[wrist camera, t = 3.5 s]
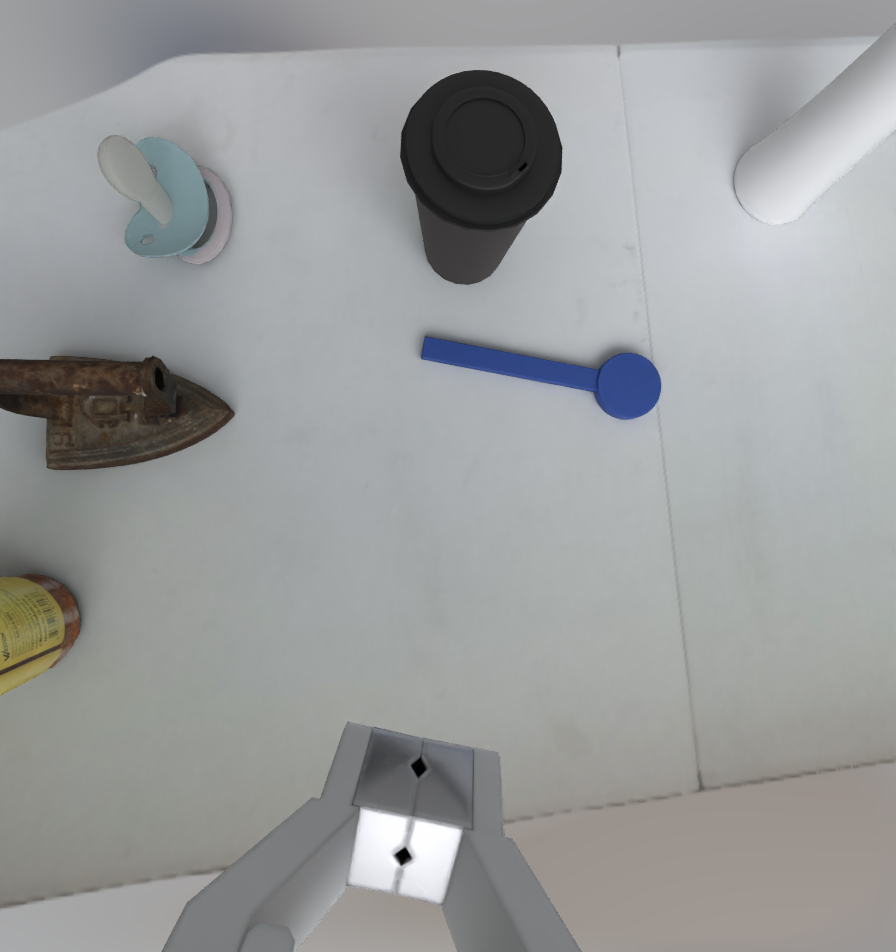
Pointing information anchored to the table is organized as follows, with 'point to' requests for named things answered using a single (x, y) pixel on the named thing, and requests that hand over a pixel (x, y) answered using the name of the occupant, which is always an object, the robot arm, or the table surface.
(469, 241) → the coffee cup
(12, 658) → the sauce bottle
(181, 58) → the table surface
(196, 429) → the clothes iron
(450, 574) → the table surface
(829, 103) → the cosmetic bottle
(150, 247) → the pacifier
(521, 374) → the spoon
